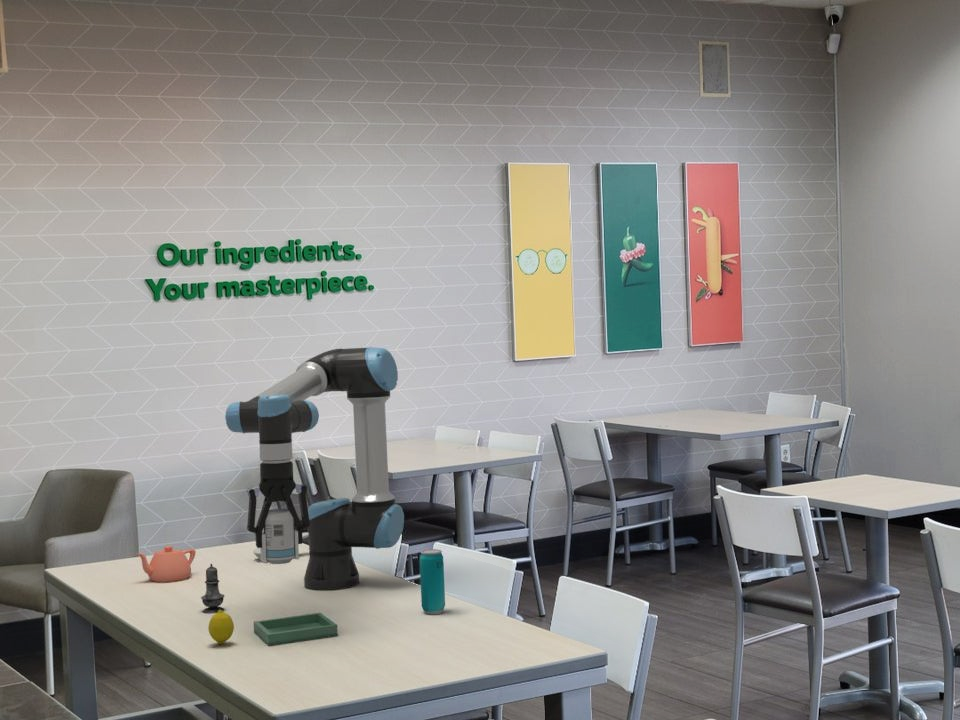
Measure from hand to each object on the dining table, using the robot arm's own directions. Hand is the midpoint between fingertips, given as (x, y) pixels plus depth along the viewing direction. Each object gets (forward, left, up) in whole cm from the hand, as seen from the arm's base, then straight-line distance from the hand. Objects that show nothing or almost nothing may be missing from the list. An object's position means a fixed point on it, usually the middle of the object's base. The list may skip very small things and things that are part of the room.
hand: (279, 559), depth 275 cm
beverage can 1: (0, 0, -1) cm, 1 cm away
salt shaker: (+10, -31, -17) cm, 37 cm away
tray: (-2, +4, -17) cm, 17 cm away
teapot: (+14, -79, -17) cm, 82 cm away
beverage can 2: (-37, +2, -17) cm, 41 cm away
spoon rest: (-26, -91, -17) cm, 96 cm away
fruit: (+15, +4, -17) cm, 23 cm away
